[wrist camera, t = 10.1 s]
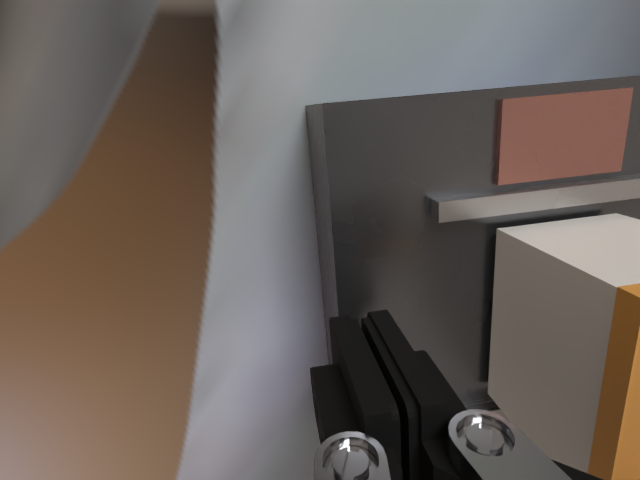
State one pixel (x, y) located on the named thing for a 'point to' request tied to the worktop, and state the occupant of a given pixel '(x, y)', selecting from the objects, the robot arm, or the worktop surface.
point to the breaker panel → (459, 201)
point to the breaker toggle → (570, 340)
